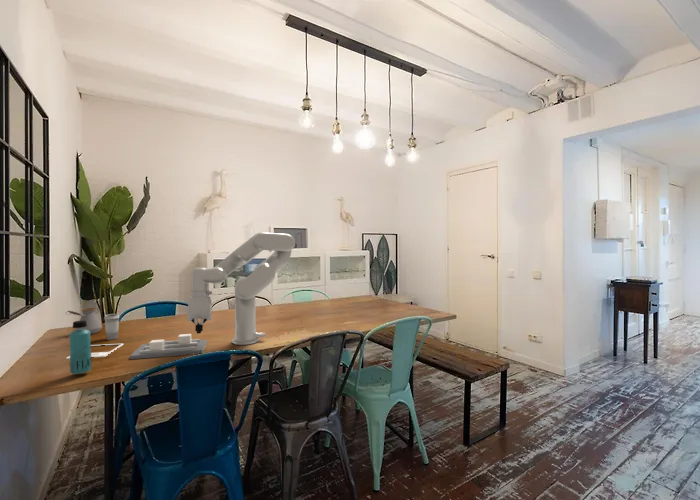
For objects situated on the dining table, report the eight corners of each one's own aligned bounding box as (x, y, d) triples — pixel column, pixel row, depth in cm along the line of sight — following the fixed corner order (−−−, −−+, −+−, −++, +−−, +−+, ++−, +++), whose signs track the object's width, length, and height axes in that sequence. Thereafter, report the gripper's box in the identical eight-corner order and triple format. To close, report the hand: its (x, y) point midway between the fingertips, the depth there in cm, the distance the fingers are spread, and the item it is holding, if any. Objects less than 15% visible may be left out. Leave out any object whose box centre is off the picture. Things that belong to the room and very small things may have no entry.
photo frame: (66, 357, 146) (89, 344, 164) (66, 360, 146) (89, 347, 164) (104, 355, 149) (123, 343, 167) (105, 357, 149) (123, 345, 167)
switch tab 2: (191, 342, 165) (191, 333, 165) (190, 344, 161) (189, 335, 161) (179, 342, 164) (179, 334, 164) (178, 345, 160) (178, 336, 160)
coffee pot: (85, 330, 192) (84, 303, 192) (107, 330, 193) (106, 303, 193) (55, 341, 171) (55, 311, 171) (80, 341, 172) (79, 310, 172)
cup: (120, 339, 175) (119, 315, 175) (103, 341, 172) (103, 317, 171) (119, 336, 181) (119, 313, 181) (104, 338, 177) (103, 314, 177)
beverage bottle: (74, 379, 125) (73, 323, 124) (66, 375, 128) (65, 321, 128) (95, 373, 130) (94, 320, 130) (87, 370, 134) (86, 318, 133)
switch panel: (207, 342, 170) (207, 337, 170) (202, 353, 154) (202, 347, 153) (142, 347, 162) (142, 341, 162) (130, 359, 146) (130, 353, 146)
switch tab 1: (164, 348, 156) (164, 339, 156) (162, 350, 152) (162, 341, 152) (152, 349, 154) (151, 340, 154) (149, 351, 151) (149, 342, 150)
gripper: (217, 292, 169) (216, 330, 170) (184, 292, 165) (183, 331, 166) (216, 295, 162) (215, 334, 162) (181, 295, 158) (180, 335, 158)
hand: (198, 332), depth 164 cm, fingers closed
